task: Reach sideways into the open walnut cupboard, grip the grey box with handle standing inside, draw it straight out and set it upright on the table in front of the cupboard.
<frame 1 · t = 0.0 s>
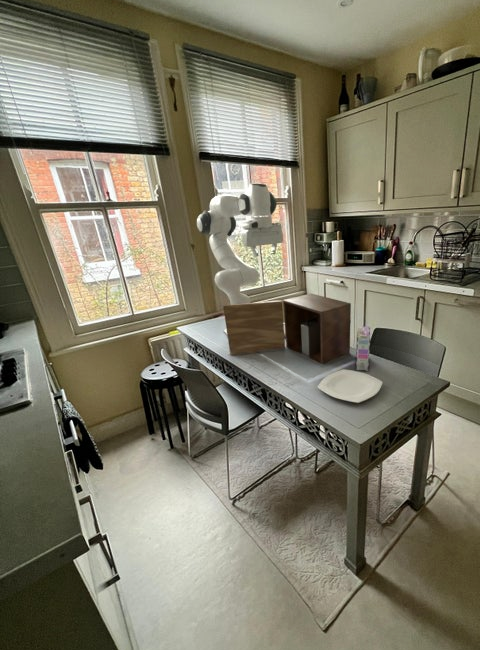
hand: (264, 255, 147), 48 cm above the table, tool pointing down, fingers open, 8 cm apart
cupboard door: (255, 326, 161), point 13 cm above the table, hinge at 120.0°
plate: (350, 388, 127), on the table
grey box with handle: (312, 351, 159), point 1 cm above the table, touching cupboard
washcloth: (282, 332, 189), on the table
cupboard: (317, 352, 161), on the table
candy box: (362, 364, 146), on the table
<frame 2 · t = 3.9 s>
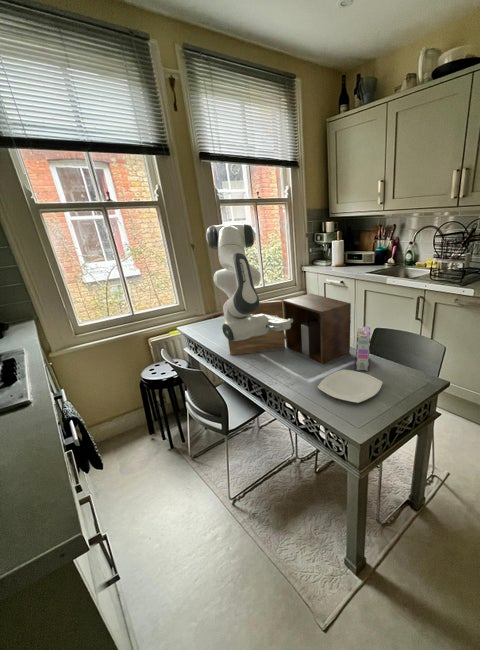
hand: (285, 318, 142), 22 cm above the table, tool horizontal, fingers open, 8 cm apart
nothing on the table moved.
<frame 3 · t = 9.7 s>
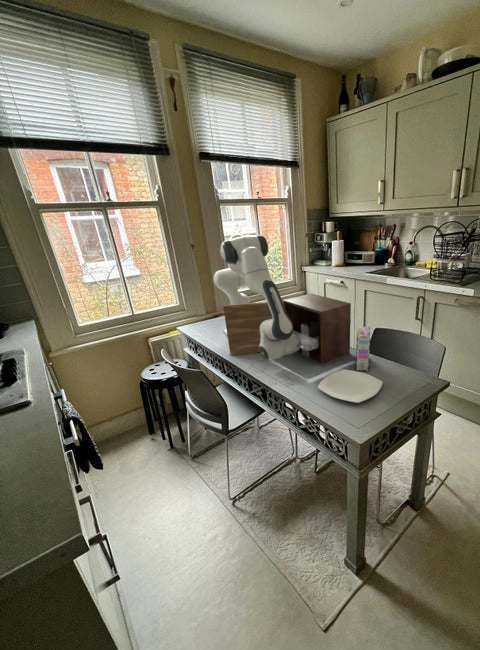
hand: (313, 335, 156), 10 cm above the table, tool horizontal, fingers closed on grey box with handle, 5 cm apart
grey box with handle: (312, 351, 159), point 1 cm above the table, touching cupboard, gripper
everything else where it was.
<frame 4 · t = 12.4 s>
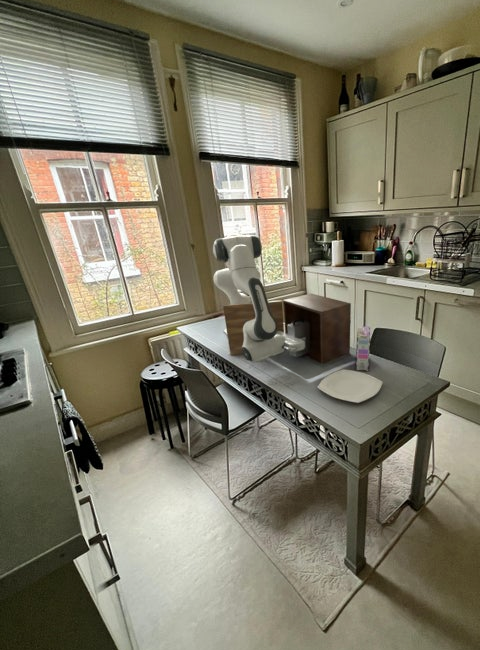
hand: (300, 336, 150), 11 cm above the table, tool horizontal, fingers closed on grey box with handle, 5 cm apart
grey box with handle: (299, 352, 153), point 3 cm above the table, touching gripper
everything else where it was.
when the fingers open (8 cm above the table, at t = 15.5 s): grey box with handle stays where it is, on the table.
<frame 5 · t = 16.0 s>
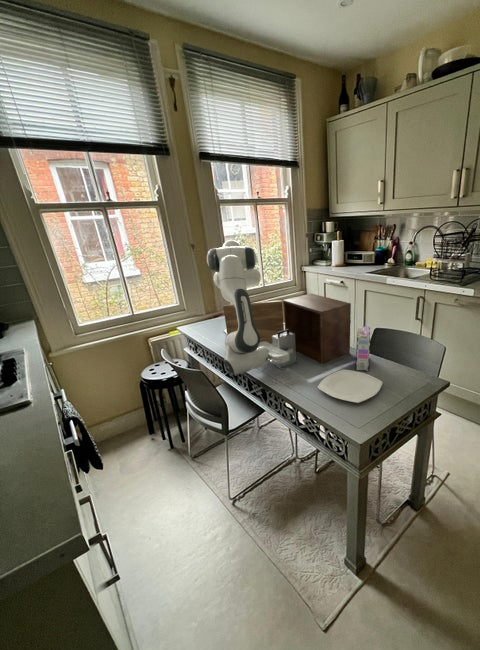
hand: (285, 347, 147), 8 cm above the table, tool horizontal, fingers open, 8 cm apart
grey box with handle: (285, 364, 150), on the table
everything else where it was.
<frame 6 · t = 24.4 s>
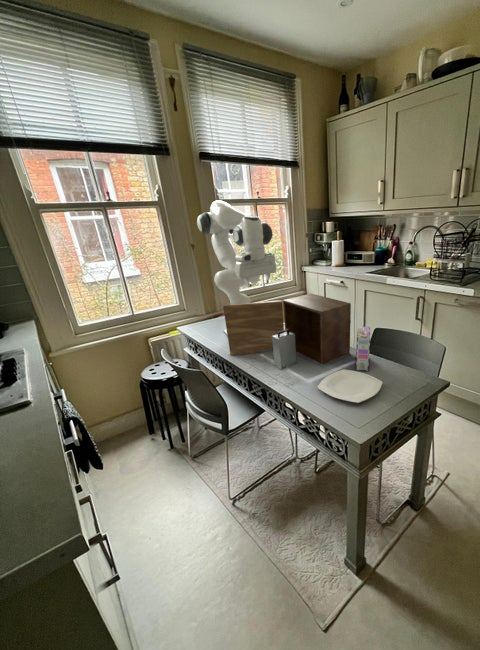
hand: (258, 285, 148), 35 cm above the table, tool pointing down, fingers open, 8 cm apart
nothing on the table moved.
at the end: grey box with handle inside the target area (0.3 cm from its centre), on the table; grey box with handle tilted 0°; the gripper is holding nothing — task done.
